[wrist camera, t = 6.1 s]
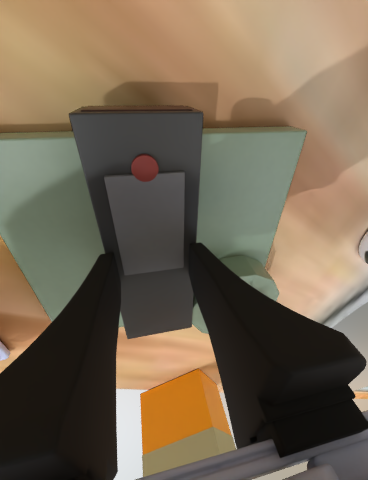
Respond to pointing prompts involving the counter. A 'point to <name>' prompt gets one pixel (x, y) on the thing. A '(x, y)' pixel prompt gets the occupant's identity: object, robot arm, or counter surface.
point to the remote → (145, 204)
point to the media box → (84, 221)
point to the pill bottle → (364, 248)
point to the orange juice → (183, 423)
